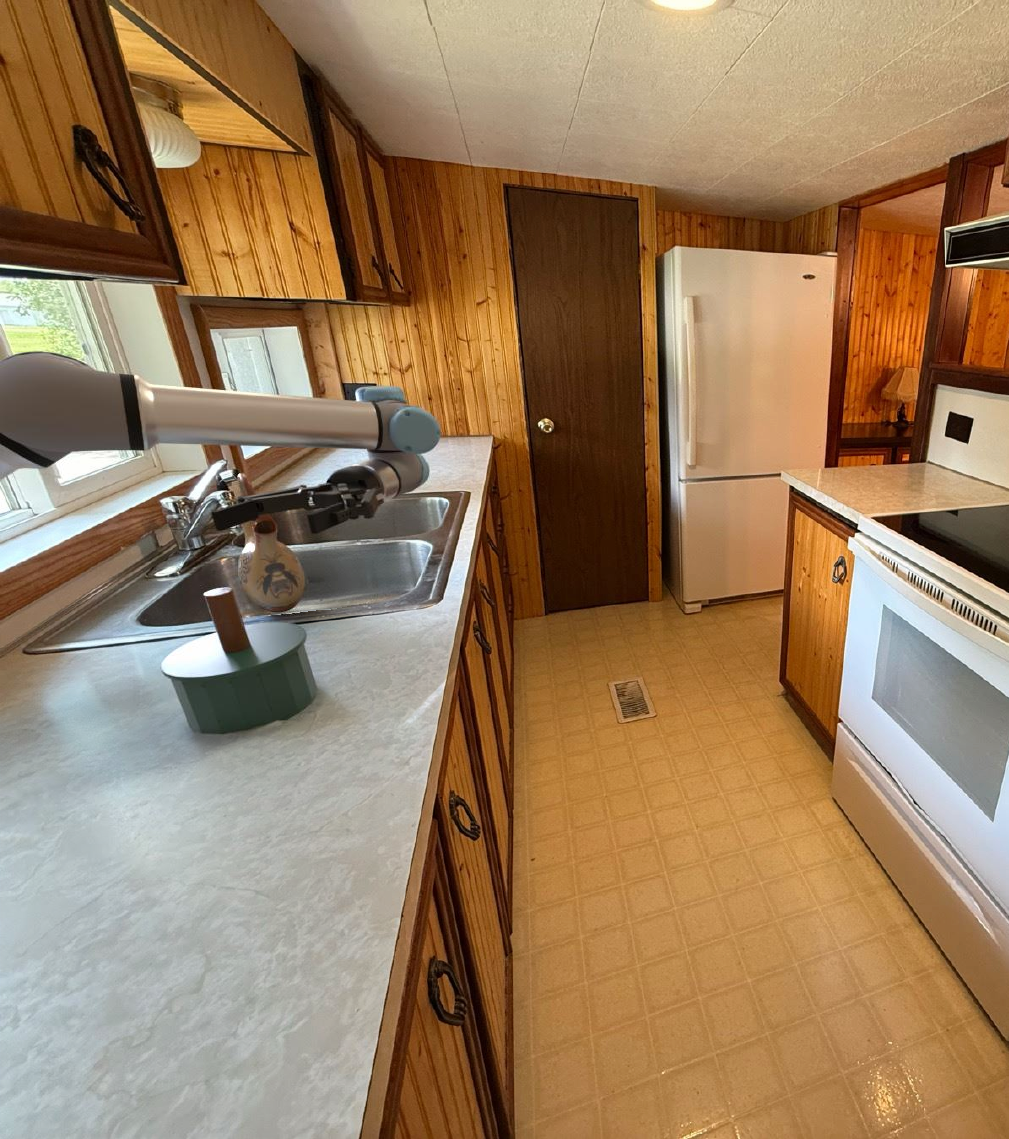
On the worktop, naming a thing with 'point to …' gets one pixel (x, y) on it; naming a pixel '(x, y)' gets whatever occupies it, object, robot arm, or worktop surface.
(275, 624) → the lid
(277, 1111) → the worktop surface
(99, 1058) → the worktop surface
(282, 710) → the pot
